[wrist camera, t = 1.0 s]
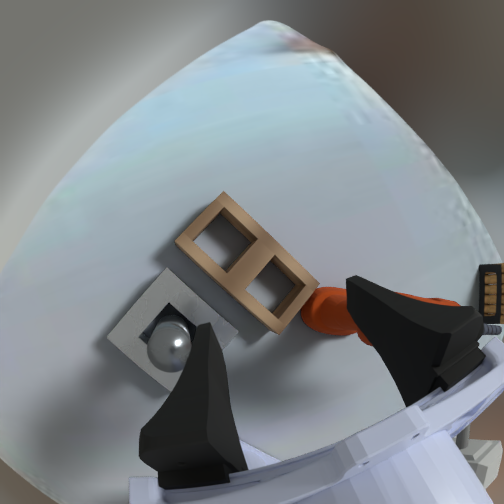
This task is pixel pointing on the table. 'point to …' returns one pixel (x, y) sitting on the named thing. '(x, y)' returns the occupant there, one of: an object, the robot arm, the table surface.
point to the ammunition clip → (492, 293)
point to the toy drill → (341, 323)
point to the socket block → (149, 306)
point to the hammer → (480, 455)
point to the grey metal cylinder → (169, 344)
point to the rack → (249, 263)
